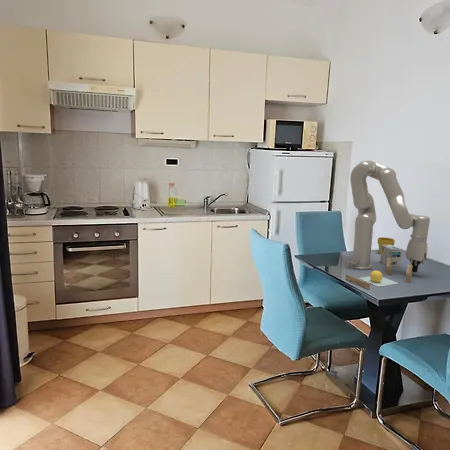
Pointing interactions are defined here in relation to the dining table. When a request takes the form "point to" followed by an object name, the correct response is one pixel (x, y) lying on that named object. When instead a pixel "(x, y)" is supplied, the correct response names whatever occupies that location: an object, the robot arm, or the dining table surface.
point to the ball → (376, 276)
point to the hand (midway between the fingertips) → (413, 271)
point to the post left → (388, 266)
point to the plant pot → (385, 242)
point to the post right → (408, 273)
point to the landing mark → (382, 283)
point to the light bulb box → (391, 255)
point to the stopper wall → (358, 281)
